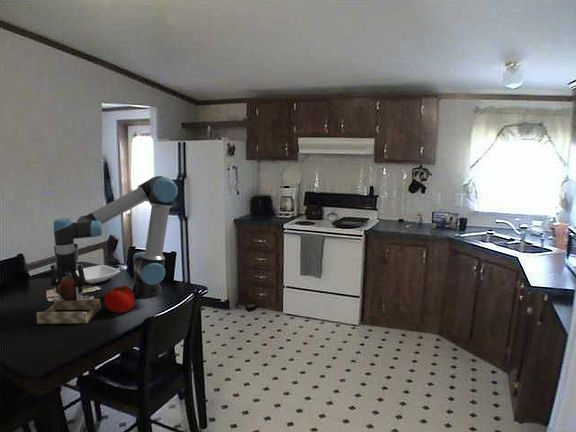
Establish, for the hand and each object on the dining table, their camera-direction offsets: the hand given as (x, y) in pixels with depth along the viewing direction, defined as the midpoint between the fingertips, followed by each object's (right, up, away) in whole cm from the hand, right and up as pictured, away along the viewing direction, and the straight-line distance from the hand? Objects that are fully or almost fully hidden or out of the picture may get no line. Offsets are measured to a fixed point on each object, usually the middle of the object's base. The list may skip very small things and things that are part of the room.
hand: (70, 299), depth 189 cm
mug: (0, -1, 0) cm, 1 cm away
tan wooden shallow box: (-1, -8, +1) cm, 8 cm away
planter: (-34, +3, +61) cm, 70 cm away
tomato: (+20, -7, +9) cm, 23 cm away
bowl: (-11, +1, +49) cm, 50 cm away
